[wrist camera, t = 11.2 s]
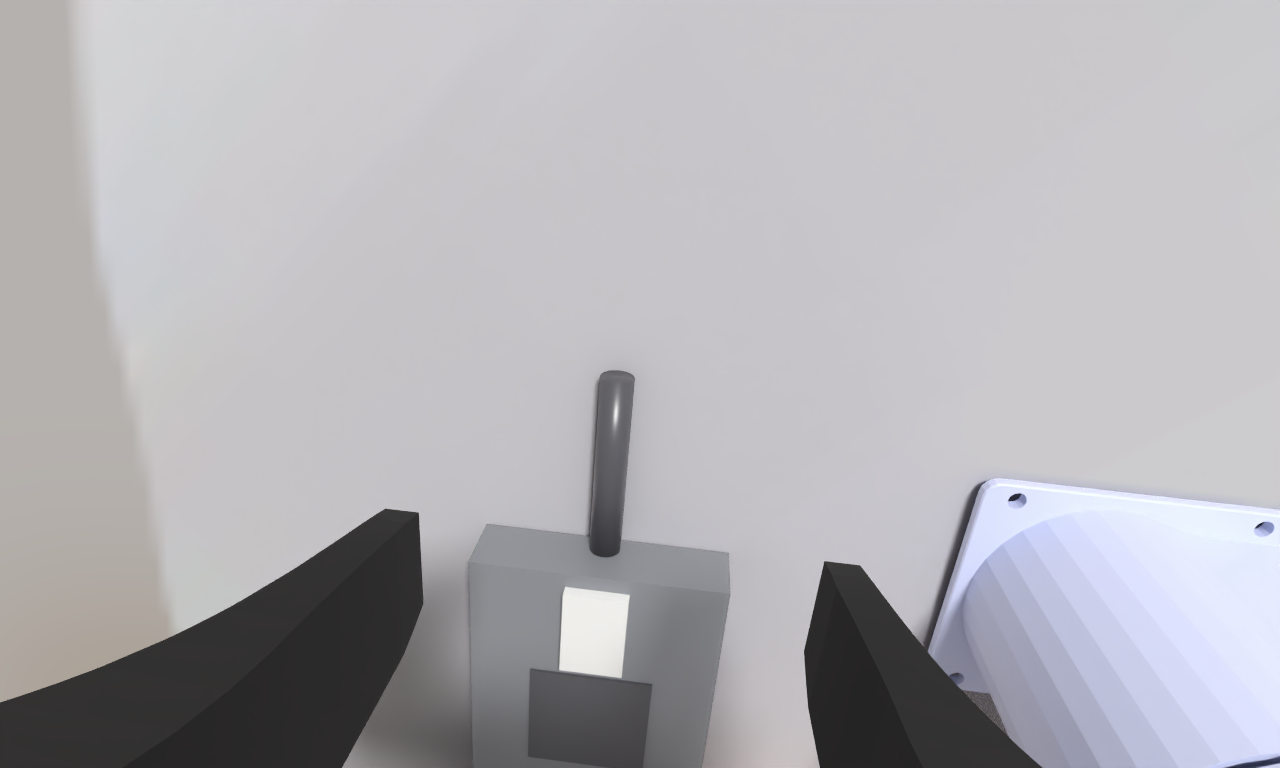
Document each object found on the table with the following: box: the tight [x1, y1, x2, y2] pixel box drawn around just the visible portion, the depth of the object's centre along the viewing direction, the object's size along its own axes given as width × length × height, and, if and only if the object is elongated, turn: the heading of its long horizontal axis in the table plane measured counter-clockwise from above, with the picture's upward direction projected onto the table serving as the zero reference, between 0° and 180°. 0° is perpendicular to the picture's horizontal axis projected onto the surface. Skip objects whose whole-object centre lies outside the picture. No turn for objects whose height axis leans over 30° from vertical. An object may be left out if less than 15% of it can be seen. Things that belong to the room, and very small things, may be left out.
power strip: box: [469, 371, 730, 768], centre depth 25 cm, size 8×24×2 cm, turn 175°
